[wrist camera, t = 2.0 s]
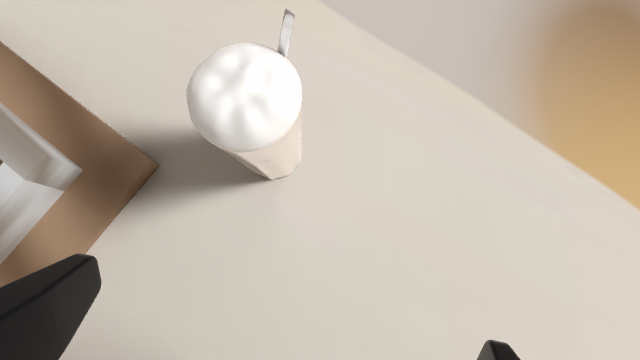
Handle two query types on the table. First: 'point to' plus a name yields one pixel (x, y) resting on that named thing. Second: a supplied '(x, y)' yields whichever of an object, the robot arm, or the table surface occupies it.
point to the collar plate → (56, 172)
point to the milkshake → (251, 104)
